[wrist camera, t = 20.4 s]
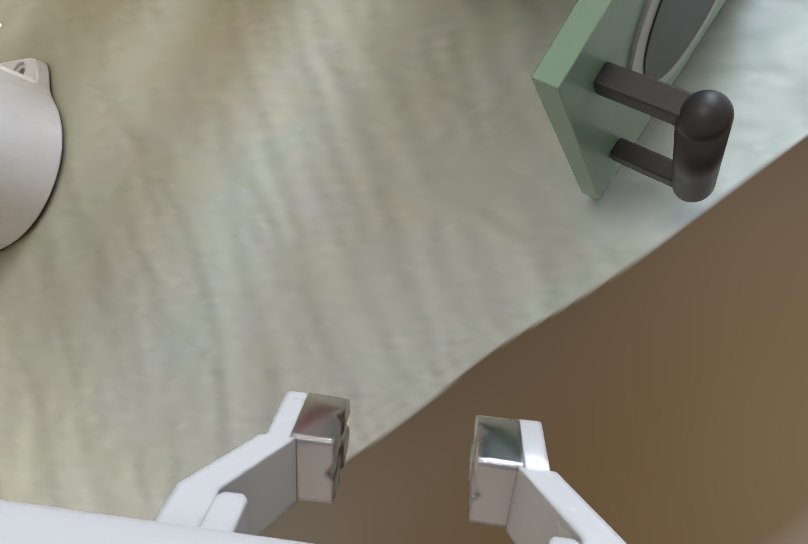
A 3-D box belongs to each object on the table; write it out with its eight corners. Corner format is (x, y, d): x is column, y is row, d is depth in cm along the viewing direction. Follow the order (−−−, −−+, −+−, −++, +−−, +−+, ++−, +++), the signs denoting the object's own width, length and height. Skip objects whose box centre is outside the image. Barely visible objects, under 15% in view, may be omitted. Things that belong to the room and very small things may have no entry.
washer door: (868, -37, 23) (1032, -364, 13) (684, 242, 24) (701, 147, 14) (744, -66, 25) (799, -365, 15) (581, 191, 26) (530, 77, 16)
